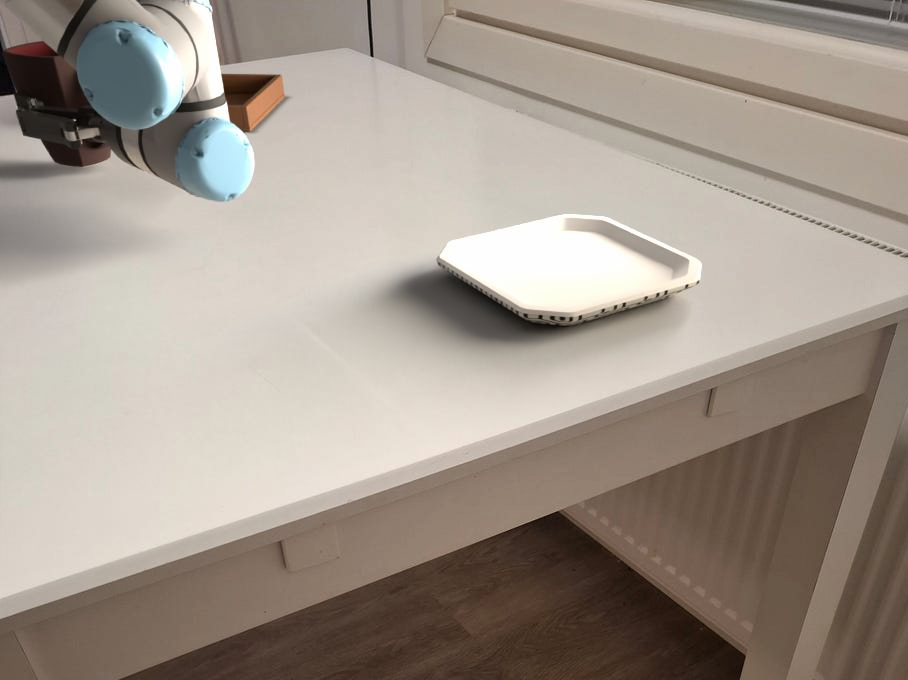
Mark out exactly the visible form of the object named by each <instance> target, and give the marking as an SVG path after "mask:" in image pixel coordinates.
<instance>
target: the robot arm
mask: <svg viewBox="0 0 908 680" xmlns="http://www.w3.org/2000/svg"><path fill="white" fill-rule="evenodd" d="M0 4H1V5H2V6H3V7H4V8H5V9H7V10H8V11H9V12H10V13H11V14H12V15H13V16H14V17H16V18H17V19H18V20H19V21H20V22H21V23H22V24H24V25H25V26H26V27H27V28H28V29H29V30H30V31H31V32H32V33H34V34H35V35H36V36H37V37H38V38H39V39H40V40H41V41H44V42H45V43H46V44H47V45H48V46H50V47H51V48H52V49H53V50H54V51H55V52H56V53H58V54H59V55H60V56H61V57H62V58H63V59H64V60H65V61H66V62H68V63H69V64H70V65H71V66H72V67H73V68H74V69H75V70H76V71H77V75H78V80H79V83H80V86H81V88H82V90H83V92H84V94H85V96H86V98H87V99H88V101H89V103H90V104H91V105H85V106H82V107H80V108H79V109H72V108H61V107H50V106H44V105H43V102H41V101H39V100H37V99H36V98H32V97H30V96H27V95H25V94H22V93H19V92H18V93H17V92H13V97H14V100H15V103H16V107H17V109H16V110H15V113H16V118H17V121H18V124H19V127H20V130H21V133H22V136H24V137H28V138H32V139H38V140H40V141H41V140H46V141H50V142H55V143H60V144H64V145H67V146H68V147H70V148H72V149H79V148H81V147H82V145H81V144H82V143H83V142H82V139H87V140H88V141H90V142H100V143H106V144H107V145H108V146H109V147H110V149H111V152H113V154H115V156H116V157H117V158H118V159H120V160H121V161H122V162H124V163H126V164H127V165H130V166H132V167H134V168H136V169H138V170H141V171H143V172H146V173H148V174H151V175H153V176H155V177H158V178H159V179H161V180H163V181H165V182H167V183H169V184H171V185H173V186H175V187H177V188H179V189H181V190H183V191H185V192H186V193H188V195H191V196H194V197H195V198H201V199H204V200H207V201H211V202H216V203H223V202H224V203H225V202H228V203H229V202H230V201H233V200H235V199H237V198H238V197H240V196H242V194H243V193H244V192H245V191H246V190H247V189H248V187H249V185H250V184H251V181H252V179H253V176H254V172H255V155H254V149H253V146H252V145H251V143H250V141H249V139H248V137H247V136H246V134H245V133H244V132H243V131H241V130H240V129H239V128H238V127H236V125H235V124H232V123H231V122H230V119H229V113H228V107H227V101H226V99H225V93H224V88H223V82H222V76H221V74H222V71H221V65H220V59H219V52H218V47H217V40H216V34H215V28H214V21H213V7H212V5H211V3H210V0H0ZM91 113H93V114H94V115H93V116H92V114H91Z"/></svg>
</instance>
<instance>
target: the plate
mask: <svg viewBox="0 0 908 680" xmlns="http://www.w3.org/2000/svg"><path fill="white" fill-rule="evenodd" d="M436 263H437V265H438V267H440V268H442V269H444V270H445V271H447V272H448V273H450V274H452V275H453V276H455V277H457V278H458V279H460V280H461V281H463V282H464V283H466V284H468V285H469V286H471V287H473V288H474V289H476V290H478V291H479V292H480V293H482V294H484V295H485V296H486V297H489V298H490V299H491V300H493V301H495V302H496V303H498V304H499V305H502V307H504V308H506V309H508V310H509V311H511V312H512V313H514V314H516V315H517V316H519V317H520V318H522V319H524V320H525V321H527V322H529V323H532V324H535V325H536V324H538V325H548V326H559V327H560V326H561V327H571V326H575V325H580V324H583V323H586V322H590V321H593V320H597V319H600V318H603V317H607V316H610V315H614V314H617V313H621V312H624V311H627V310H630V309H635V308H637V307H641V306H645V305H647V304H651V303H654V302H658V301H662V300H664V299H668V298H670V297H672V296H675V295H677V294H679V293H681V292H683V291H686V290H689V289H691V288H693V287H695V286H697V285H698V284H700V282H701V276H702V267H703V263H702V262H701V261H700V259H698V258H697V257H694V256H692V255H690V254H688V253H686V252H684V251H681V250H679V249H677V248H675V247H673V246H671V245H668V244H667V243H664V242H662V241H659V240H657V239H655V238H653V237H651V236H649V235H646V234H644V233H642V232H639V231H637V230H635V229H633V228H632V227H628V226H626V225H624V224H622V223H620V222H618V221H616V220H613V219H611V218H610V217H607V216H602V215H601V216H600V215H585V214H571V213H567V214H566V213H565V214H561V215H555V216H550V217H546V218H543V219H542V218H541V219H539V220H533V221H530V222H524V223H520V224H517V225H513V226H508V227H504V228H500V229H496V230H492V231H487V232H483V233H478V234H474V235H470V236H465V237H461V238H457V239H452V240H450V241H447V243H446V244H445V245H444V247H443V248H442V250H441V252H440V253H439V254H438V255H437V257H436Z"/></svg>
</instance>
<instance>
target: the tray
mask: <svg viewBox="0 0 908 680" xmlns="http://www.w3.org/2000/svg"><path fill="white" fill-rule="evenodd" d="M221 76H222V82H223V88H224V93H225V99H226V101H227V107H228V113H229V119H230V122H231V123H232V124H235V125H236V127H238V128H239V129H240V130H241V131H242V132H243V133H244V132H245V133H247V132H249V133H250V132H252V131H253V130H254V128H256V127H257V126H258V125H259V124H260V123H261V122H262V120H264V119H265V118H266V117H267V116H268V115H269V114H270V113H271V112H272V111H273V110H274V109H275V108H276V107H277V106H278V105H279V104H280V103H281V102H282V101H283V100H284V99H285V98H286V96H285V88H284V82H283V75H282V74H277V73H276V74H272V73H271V74H270V73H269V74H268V73H221Z"/></svg>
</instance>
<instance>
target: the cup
mask: <svg viewBox="0 0 908 680" xmlns="http://www.w3.org/2000/svg"><path fill="white" fill-rule="evenodd" d="M2 56H3V59H4V62H5V65H6V68H7V71H8V74H9V76H10V79H11V81H12V84H13V87H14V88H15V91H16V93H18V92H19V93H22V94H25V95H27V96H30V97H32V98H36V99H37V100H39V101H41V102H43V105H44V106H50V107H61V108H72V109H79V108H80V107H82V106H85V105H91V104H90V103H89V101H88V99H87V98H86V96H85V94H84V92H83V90H82V88H81V86H80V83H79V80H78V75H77V71H76V70H75V69H74V68H73V67H72V66H71V65H70V64H69V63H68V62H66V61H65V60H64V59H63V58H62V57H61V56H60V55H59V54H58V53H56V52H55V51H54V50H53V49H52V48H51V47H50V46H48V45H47V44H46V43H45V42H44V41H43V40H38V41H32V42H27V43H21V44H18V45H14V46H10V47H7V48H5V49H3V50H2ZM91 114H92V116H93V115H94V114H93V113H91ZM40 141H41V144H42V145H43V146H44V148H45V149H46V151H47V153H48V154H49V156H50V158H51V160H52V161H53V162H54V163H55V164H57V165H60V166H64V167H71V168H87V167H91V166H95V165H98V164H102V163H104V162H106V161H107V160H109V159H110V158H111V156H112V155H111V154H112V150H111V149H110V147H109V146H108V145H107V144H106V143H100V142H90V141H88V140H87V139H82V142H83V143H82V144H81V145H82V147H81V148H79V149H72V148H70V147H68V146H67V145H64V144H60V143H55V142H50V141H46V140H41V139H40Z"/></svg>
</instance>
